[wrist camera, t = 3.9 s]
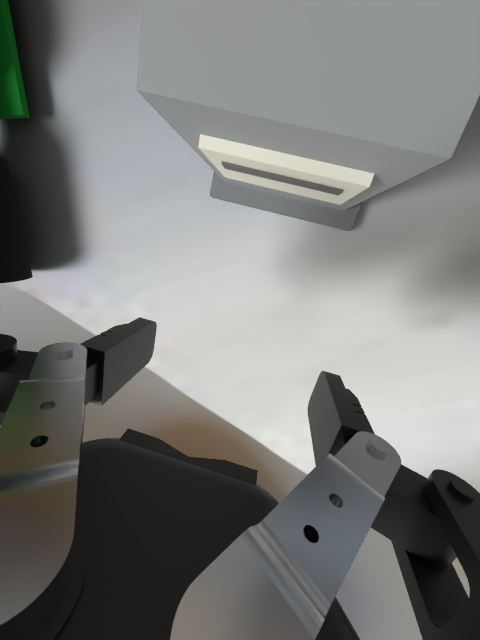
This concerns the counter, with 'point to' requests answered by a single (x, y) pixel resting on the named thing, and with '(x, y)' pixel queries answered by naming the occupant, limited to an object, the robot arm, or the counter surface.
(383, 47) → the control box
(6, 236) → the electronic board model
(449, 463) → the counter surface
